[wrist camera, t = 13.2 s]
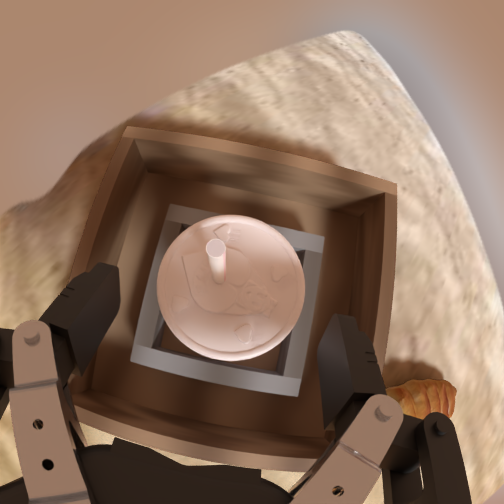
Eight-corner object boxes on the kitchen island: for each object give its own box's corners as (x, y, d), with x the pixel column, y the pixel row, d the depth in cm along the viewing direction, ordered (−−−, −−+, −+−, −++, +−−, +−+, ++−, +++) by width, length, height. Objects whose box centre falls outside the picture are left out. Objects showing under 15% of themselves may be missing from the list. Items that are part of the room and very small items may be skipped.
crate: (83, 393, 20) (46, 406, 14) (143, 166, 26) (127, 125, 20) (328, 445, 21) (357, 472, 15) (364, 214, 26) (396, 183, 20)
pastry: (442, 362, 23) (469, 363, 20) (445, 424, 22) (470, 432, 18) (357, 393, 22) (378, 401, 19) (363, 461, 21) (383, 476, 17)
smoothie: (214, 248, 23) (200, 129, 10) (289, 291, 23) (374, 223, 9) (168, 322, 21) (83, 294, 8) (246, 368, 21) (277, 415, 7)
